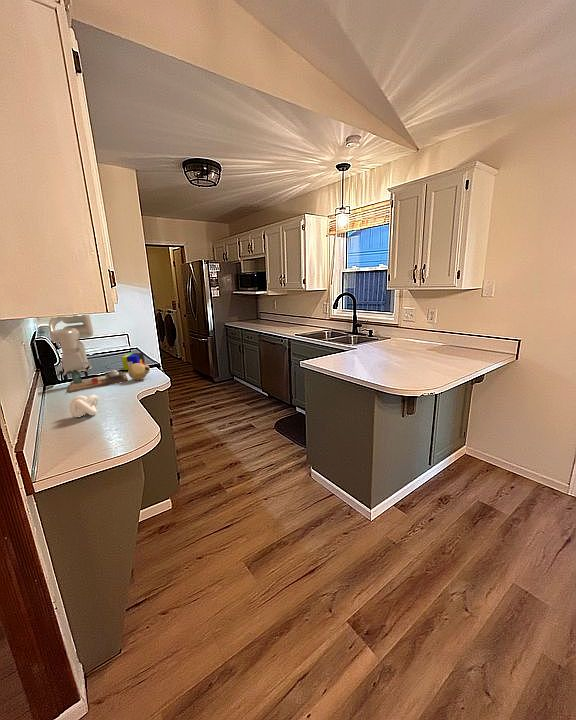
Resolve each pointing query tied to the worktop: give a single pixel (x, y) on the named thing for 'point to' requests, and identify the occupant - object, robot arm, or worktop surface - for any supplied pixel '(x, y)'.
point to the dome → (113, 373)
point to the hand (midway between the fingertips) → (77, 379)
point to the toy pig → (138, 371)
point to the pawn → (76, 377)
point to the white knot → (83, 405)
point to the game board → (98, 382)
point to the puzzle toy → (132, 359)
